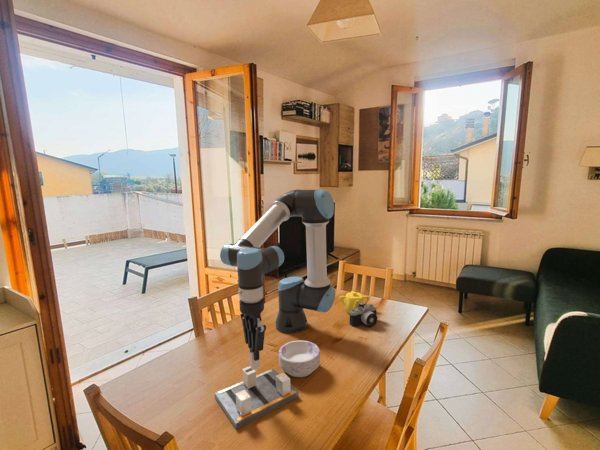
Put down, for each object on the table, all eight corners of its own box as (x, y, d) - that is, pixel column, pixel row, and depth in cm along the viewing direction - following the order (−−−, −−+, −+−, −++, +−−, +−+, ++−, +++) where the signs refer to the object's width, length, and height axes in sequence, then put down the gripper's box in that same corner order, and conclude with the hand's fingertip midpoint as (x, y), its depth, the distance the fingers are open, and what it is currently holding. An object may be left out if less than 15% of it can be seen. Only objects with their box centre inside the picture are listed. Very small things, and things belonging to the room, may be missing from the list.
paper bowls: (273, 363, 122) (272, 344, 121) (309, 354, 128) (309, 336, 127) (287, 387, 109) (287, 366, 107) (327, 376, 115) (327, 355, 113)
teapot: (373, 311, 167) (373, 293, 165) (357, 319, 159) (357, 299, 157) (352, 304, 177) (352, 286, 176) (336, 310, 169) (337, 292, 167)
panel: (215, 398, 104) (213, 378, 103) (273, 373, 117) (272, 354, 115) (236, 429, 91) (234, 406, 90) (298, 397, 104) (298, 377, 103)
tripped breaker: (242, 382, 108) (242, 368, 107) (250, 379, 110) (250, 365, 109) (248, 388, 105) (247, 374, 104) (256, 385, 107) (255, 370, 106)
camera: (357, 332, 146) (357, 311, 144) (346, 324, 154) (346, 304, 152) (383, 324, 153) (384, 305, 151) (371, 317, 161) (372, 298, 159)
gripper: (231, 295, 102) (235, 362, 106) (250, 309, 92) (254, 382, 96) (252, 289, 106) (255, 353, 111) (272, 302, 96) (275, 372, 100)
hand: (255, 367), depth 103 cm, fingers closed
